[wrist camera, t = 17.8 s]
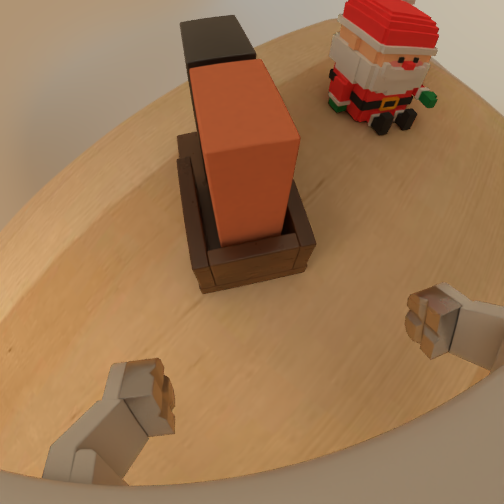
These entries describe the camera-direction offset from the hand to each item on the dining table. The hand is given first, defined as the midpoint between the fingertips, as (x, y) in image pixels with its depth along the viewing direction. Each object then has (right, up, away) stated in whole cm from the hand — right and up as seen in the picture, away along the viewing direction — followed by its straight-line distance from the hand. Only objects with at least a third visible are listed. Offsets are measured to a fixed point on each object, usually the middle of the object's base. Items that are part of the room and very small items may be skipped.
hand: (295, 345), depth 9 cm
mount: (-3, +6, +11) cm, 13 cm away
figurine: (+9, +16, +15) cm, 24 cm away
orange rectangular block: (-2, +5, +9) cm, 10 cm away
